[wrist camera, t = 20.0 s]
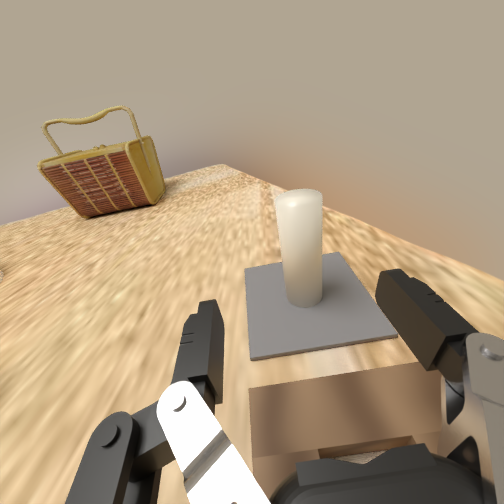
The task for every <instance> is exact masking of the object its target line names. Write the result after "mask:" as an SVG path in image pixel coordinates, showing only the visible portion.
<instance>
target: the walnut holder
mask: <svg viewBox="0 0 504 504" xmlns="http://www.w3.org/2000/svg"><path fill="white" fill-rule="evenodd" d="M441 377H442V374H441V373H440V371H439V370H433V371H426V370H425V369H424V367H423V366H422V365H421V363H420V362H414V363H408V364H402V365H395V366H389V367H383V368H376V369H370V370H364V371H357V372H351V373H345V374H338V375H332V376H326V377H319V378H313V379H307V380H300V381H294V382H288V383H281V384H275V385H269V386H262V387H256V388H250V389H249V402H250V422H251V442H252V461H253V477H254V479H255V480H256V482H257V483H258V485H259V486H260V488H261V489H262V491H263V492H264V494H265V496H266V497H267V499H268V500H269V499H270V497H271V495H272V493H273V492H274V490H275V489H276V487H277V486H278V485H279V484H280V483H281V482H282V480H283V479H285V478H286V477H287V476H288V475H289V474H291V473H292V472H294V471H296V464H295V463H297V462H304V461H310V460H317V459H323V458H332V457H339V456H346V455H353V454H360V453H367V452H374V451H381V450H388V449H391V448H394V447H401V446H407V445H414V444H420V443H425V444H426V446H427V448H428V450H429V451H430V452H431V453H434V454H437V448H438V441H439V437H440V434H441V429H442V410H441Z"/></svg>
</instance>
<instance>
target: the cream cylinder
mask: <svg viewBox="0 0 504 504" xmlns="http://www.w3.org/2000/svg"><path fill="white" fill-rule="evenodd" d="M275 208H276V216H277V224H278V232H279V240H280V249H281V257H282V265H283V273H284V281H285V289H286V296H287V299H288V301H289V302H290V303H291V304H292V305H294V306H297V307H301V308H309V307H313V306H315V305H317V304H318V303H319V302H320V301H321V299H322V194H321V192H319V191H317V190H312V189H296V190H291V191H287V192H284V193H282V194H280V195H278V196H277V197H276V198H275Z"/></svg>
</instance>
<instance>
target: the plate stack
mask: <svg viewBox="0 0 504 504" xmlns="http://www.w3.org/2000/svg"><path fill="white" fill-rule="evenodd" d="M3 276H4V274H3V272H2V271H1V270H0V282H1V281H2V279H3Z"/></svg>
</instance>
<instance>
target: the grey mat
mask: <svg viewBox="0 0 504 504" xmlns="http://www.w3.org/2000/svg"><path fill="white" fill-rule="evenodd" d="M245 285H246V301H247V317H248V334H249V350H250V360H251V361H255V360H261V359H267V358H273V357H279V356H285V355H291V354H298V353H304V352H310V351H316V350H322V349H328V348H334V347H340V346H347V345H353V344H359V343H365V342H371V341H377V340H383V339H389V338H395V337H397V335H398V333H397V332H396V331H395V329H394V328H393V326H392V325H391V324H390V322H389V321H388V319H387V318H386V317H385V315H384V314H383V312H382V311H381V310H380V308H379V307H378V306H377V304H376V303H375V301H374V300H373V299H372V297H371V296H370V294H369V293H368V292H367V290H366V289H365V288H364V286H363V285H362V283H361V282H360V281H359V279H358V278H357V276H356V275H355V274H354V272H353V271H352V269H351V268H350V267H349V265H348V264H347V263H346V261H345V260H344V258H343V257H342V256H341V254H340V253H339V252H335V253H329V254H324V255H322V299H321V301H320V302H319V303H318V304H317V305H315V306H313V307H309V308H301V307H297V306H294V305H292V304H291V303H290V302H289V301H288V299H287V296H286V289H285V281H284V273H283V265H282V262H279V263H274V264H268V265H263V266H257V267H252V268H246V269H245Z"/></svg>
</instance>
